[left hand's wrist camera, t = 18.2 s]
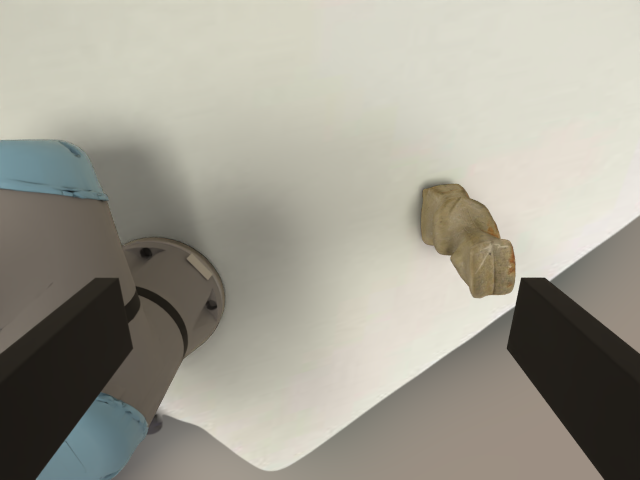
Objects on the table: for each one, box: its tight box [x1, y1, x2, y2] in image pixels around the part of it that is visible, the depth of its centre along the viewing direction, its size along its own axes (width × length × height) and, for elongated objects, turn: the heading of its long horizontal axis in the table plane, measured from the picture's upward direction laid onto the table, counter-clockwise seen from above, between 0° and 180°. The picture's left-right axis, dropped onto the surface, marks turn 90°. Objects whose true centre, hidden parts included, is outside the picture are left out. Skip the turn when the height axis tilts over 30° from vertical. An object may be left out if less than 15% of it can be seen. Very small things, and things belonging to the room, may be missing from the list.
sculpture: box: [421, 184, 515, 298], centre depth 36 cm, size 6×7×15 cm
